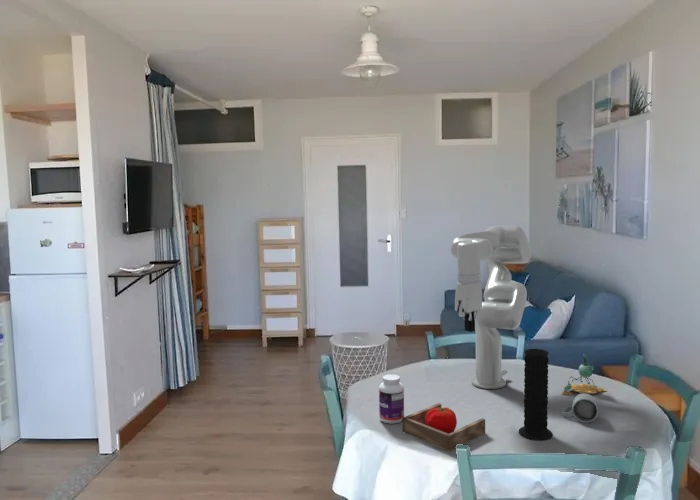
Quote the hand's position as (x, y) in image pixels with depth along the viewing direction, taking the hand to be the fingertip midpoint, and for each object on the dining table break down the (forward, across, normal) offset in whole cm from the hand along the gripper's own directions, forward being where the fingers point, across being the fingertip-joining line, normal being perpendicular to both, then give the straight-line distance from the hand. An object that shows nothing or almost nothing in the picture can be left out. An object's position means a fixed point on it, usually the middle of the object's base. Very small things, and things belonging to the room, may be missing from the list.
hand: (469, 330), depth 198 cm
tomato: (+25, +28, +9) cm, 38 cm away
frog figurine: (+27, -36, +22) cm, 51 cm away
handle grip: (+25, +7, +29) cm, 39 cm away
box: (+25, +26, +9) cm, 37 cm away
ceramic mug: (+26, -13, +33) cm, 44 cm away
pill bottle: (+25, +30, -9) cm, 40 cm away
